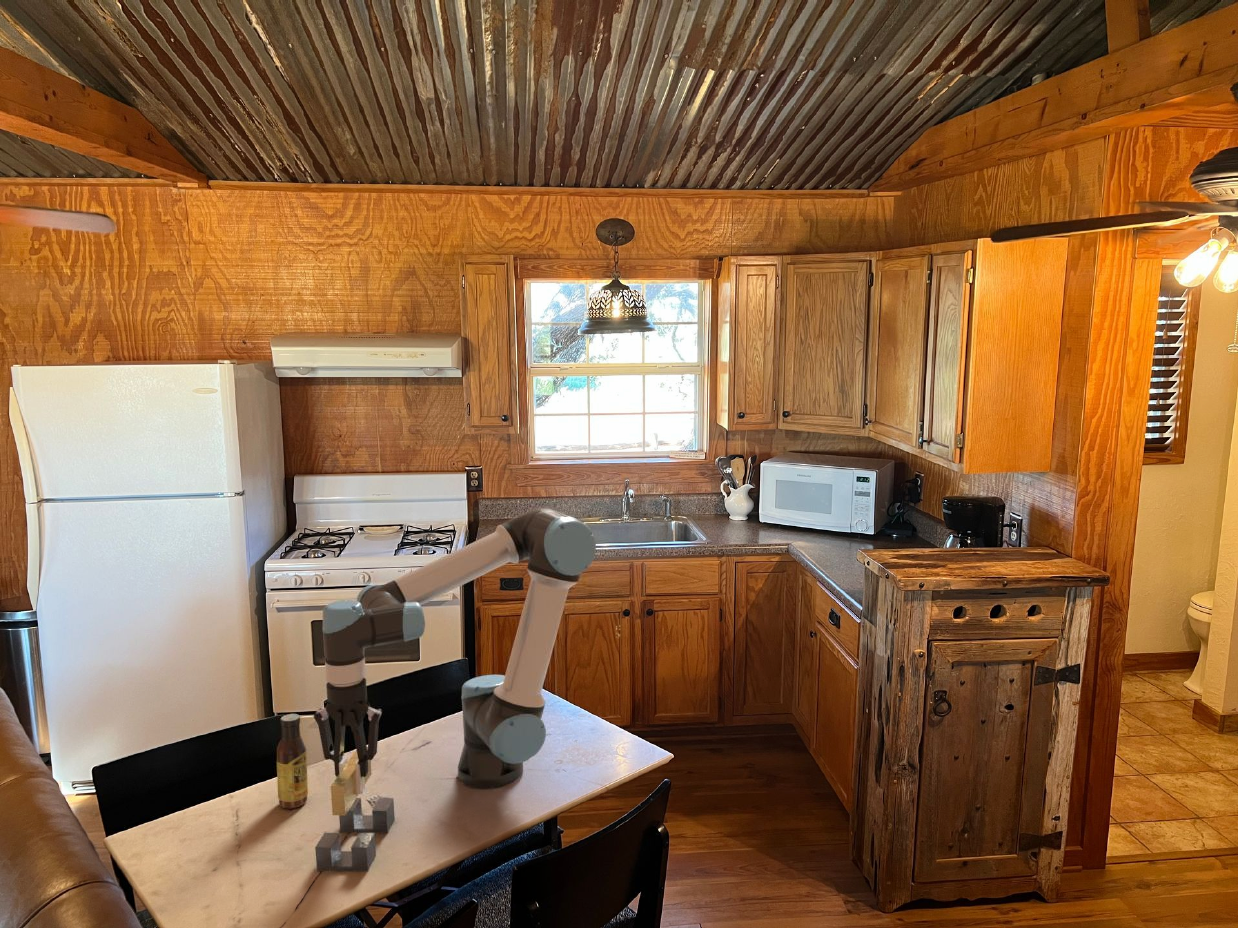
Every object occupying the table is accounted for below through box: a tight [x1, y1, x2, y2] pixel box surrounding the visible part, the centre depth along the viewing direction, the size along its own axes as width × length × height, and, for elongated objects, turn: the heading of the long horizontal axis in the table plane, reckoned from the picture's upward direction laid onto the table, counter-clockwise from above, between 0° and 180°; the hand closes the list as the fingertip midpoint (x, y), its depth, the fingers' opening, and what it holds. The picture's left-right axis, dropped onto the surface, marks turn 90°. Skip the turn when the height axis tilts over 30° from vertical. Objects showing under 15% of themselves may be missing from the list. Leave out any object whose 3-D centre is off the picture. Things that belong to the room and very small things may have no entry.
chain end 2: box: [314, 832, 377, 872], centre depth 174 cm, size 10×5×5 cm, turn 88°
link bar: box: [330, 746, 372, 816], centre depth 178 cm, size 2×16×6 cm, turn 178°
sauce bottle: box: [276, 713, 309, 810], centre depth 195 cm, size 7×6×20 cm
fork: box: [361, 787, 388, 803], centre depth 204 cm, size 3×24×2 cm, turn 44°
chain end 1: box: [338, 797, 396, 834], centre depth 186 cm, size 10×5×5 cm, turn 88°
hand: (352, 790), depth 178 cm, fingers closed on link bar, 2 cm apart
